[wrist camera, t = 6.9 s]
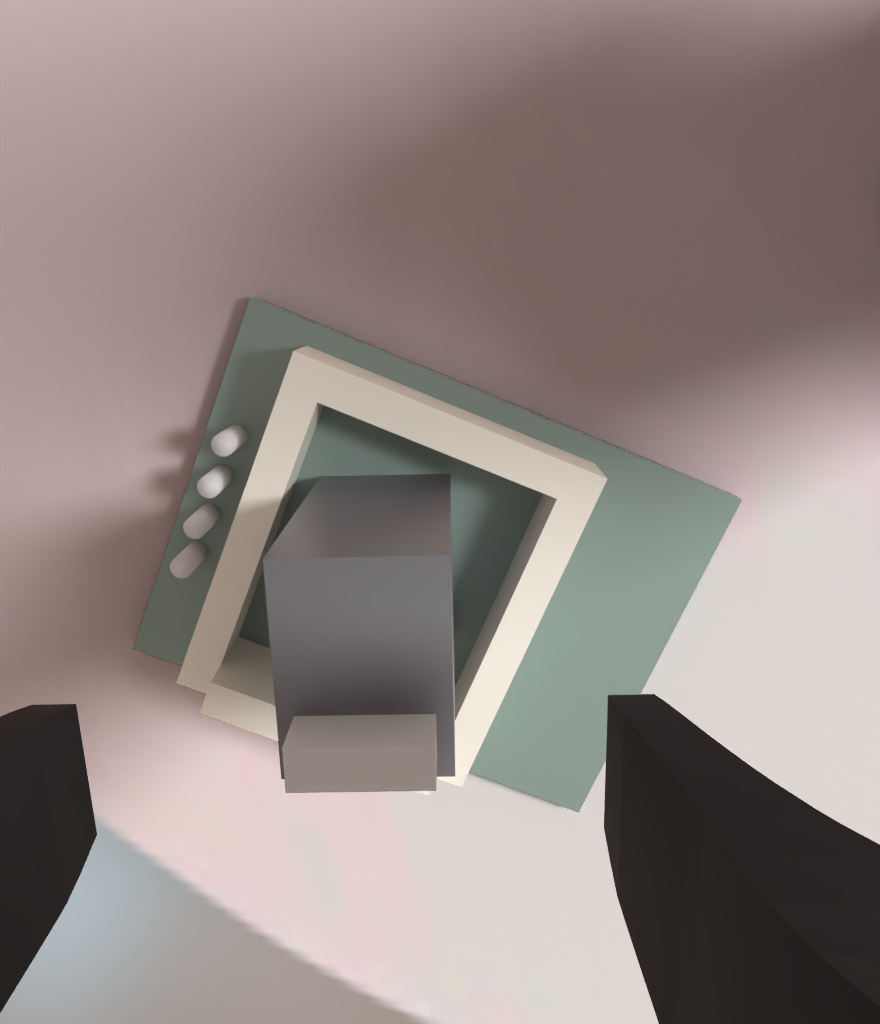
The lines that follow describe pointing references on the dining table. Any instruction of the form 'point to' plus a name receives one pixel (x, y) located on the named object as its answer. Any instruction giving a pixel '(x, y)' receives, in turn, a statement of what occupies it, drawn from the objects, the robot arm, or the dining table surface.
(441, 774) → the plug
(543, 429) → the board
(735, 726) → the dining table surface
